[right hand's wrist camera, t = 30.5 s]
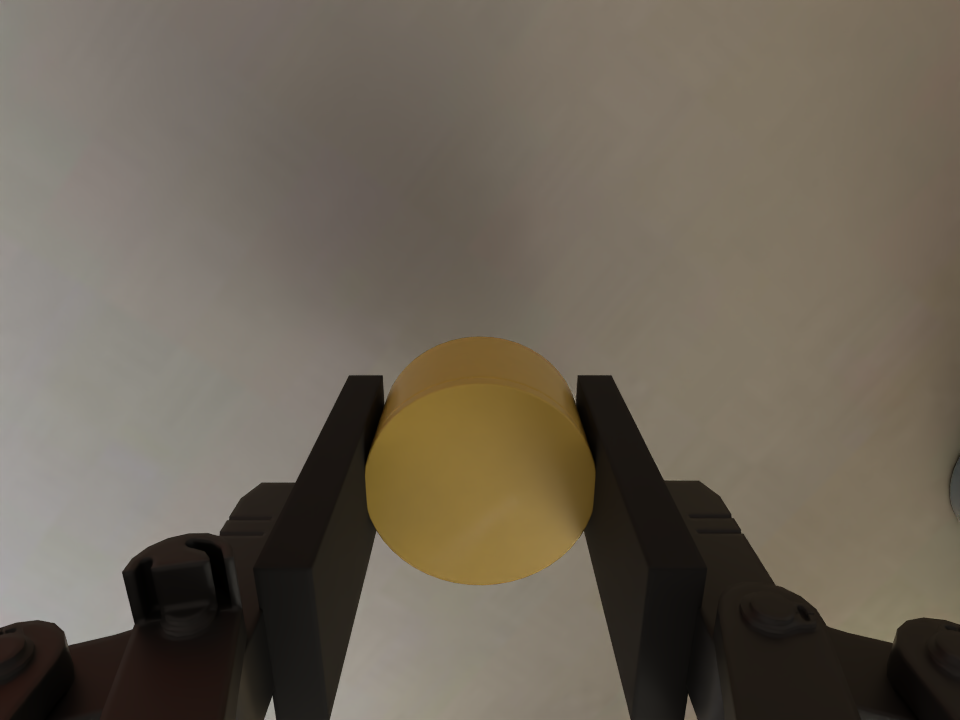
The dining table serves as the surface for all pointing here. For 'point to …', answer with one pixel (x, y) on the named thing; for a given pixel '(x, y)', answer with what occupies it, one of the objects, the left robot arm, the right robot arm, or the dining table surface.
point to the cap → (480, 464)
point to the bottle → (955, 490)
